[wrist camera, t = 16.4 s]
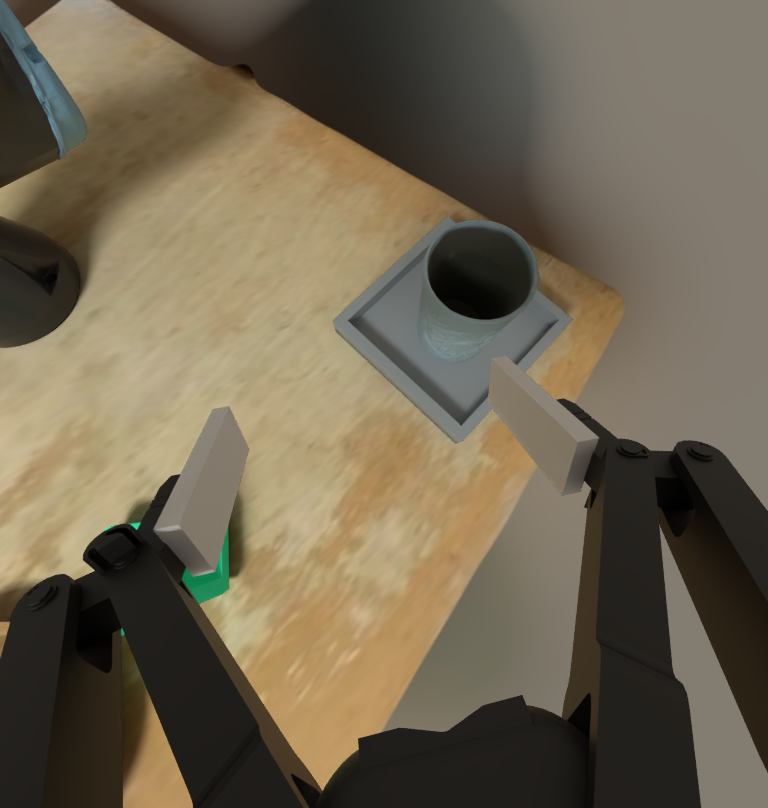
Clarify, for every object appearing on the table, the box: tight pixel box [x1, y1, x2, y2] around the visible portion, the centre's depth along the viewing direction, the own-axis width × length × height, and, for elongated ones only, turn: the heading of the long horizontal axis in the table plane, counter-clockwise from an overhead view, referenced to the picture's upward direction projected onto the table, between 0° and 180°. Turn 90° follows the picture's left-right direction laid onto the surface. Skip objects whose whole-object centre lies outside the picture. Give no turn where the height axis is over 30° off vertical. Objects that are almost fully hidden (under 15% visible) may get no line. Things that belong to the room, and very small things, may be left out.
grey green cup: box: [418, 220, 539, 362], centre depth 33 cm, size 10×10×12 cm
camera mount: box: [104, 522, 229, 636], centre depth 30 cm, size 12×8×10 cm, turn 96°
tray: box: [333, 216, 573, 444], centre depth 39 cm, size 20×20×3 cm
